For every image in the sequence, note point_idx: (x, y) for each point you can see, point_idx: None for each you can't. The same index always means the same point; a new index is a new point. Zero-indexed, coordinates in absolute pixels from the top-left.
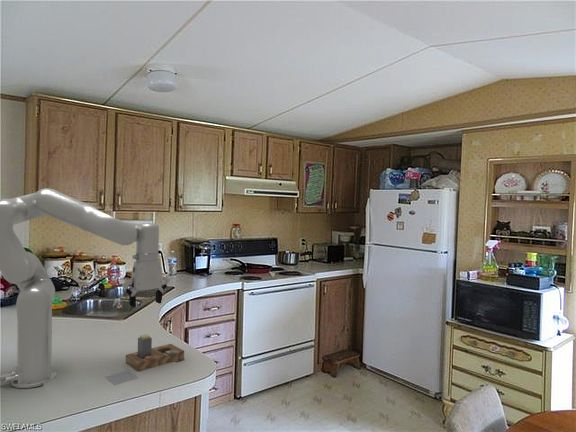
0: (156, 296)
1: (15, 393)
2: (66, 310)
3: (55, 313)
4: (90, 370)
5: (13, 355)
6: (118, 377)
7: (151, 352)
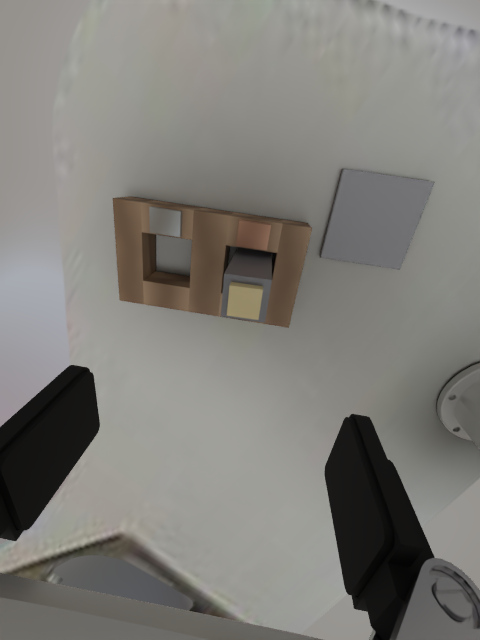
0: (61, 467)
1: None
2: None
3: None
4: (371, 351)
5: None
6: (379, 230)
7: (215, 281)
